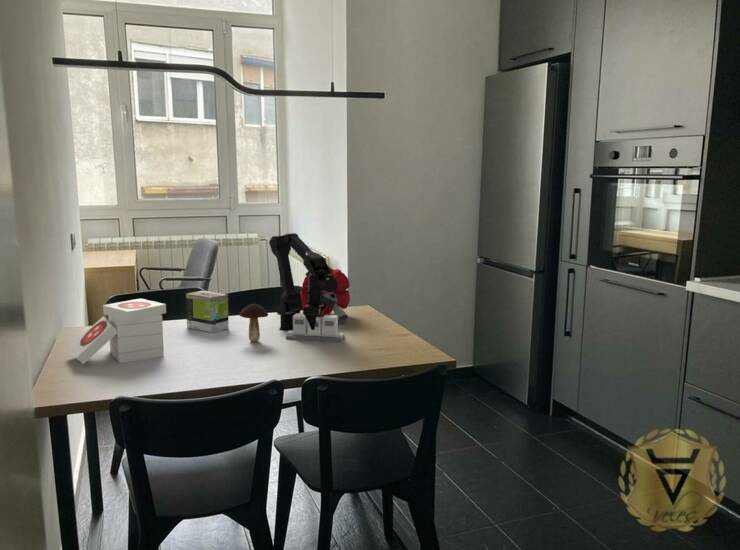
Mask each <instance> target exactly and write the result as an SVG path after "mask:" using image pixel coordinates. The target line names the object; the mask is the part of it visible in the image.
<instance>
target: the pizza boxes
mask: <svg viewBox="0 0 740 550" xmlns="http://www.w3.org/2000/svg"><path fill="white" fill-rule="evenodd" d="M102 309H103V310H102V311H103V316H102V317H100V318H99V319H98V320H97V321H96V322H95V323H94V324H93V325H91V326H90V327H89V328H88V329H87V330H86V331H85V332H84V333H83V334H81V336H79V337H78V338H77V339H76V340H75V341H74V342H73V343H71V344H70V345H69V349H70V350H71V352H72V353H73V355H74V357H75V359H77V360H78V361H79V362H81V364H83V365H85V363H87V361H88V360H90V359H91V358H92V357H93V356H94V355H95V354H96V353H97V352H98V351H100V349H102V348H103V347H104V346H105V345H106V344H107V343H108V342H109V352H110V353H111V354H112V355H113V357H114V358H115V360H116V361H117V362H118V364H120V363H121V364H122V363H128V362H136V361H141V360H148V359H153V358H154V359H155V358H161V357H164V355H165V353H164V352H165V351H164V349H165V348H164V334H163V333H164V332H163V331H164V330H163V329H164V328H163V314H167V304H166V303H163V302H162V303H161V302H158V301H154V300H148V299H146V298H136V299H130V300H125V301H119V302H113V303H112V302H111V303H108V304H102ZM104 315H106V316H108V317H107V318H108V319H107V318H106V317H105V316H104Z"/></svg>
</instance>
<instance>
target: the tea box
mask: <svg viewBox="0 0 740 550" xmlns="http://www.w3.org/2000/svg"><path fill="white" fill-rule="evenodd" d="M185 303H186V304H185V306H186V307H185V308H186V309H185V310H186V311H185V312H186V328H189V329H193V330H198V331H202V332H208V333H212V334H213V333H216V332H219V331H220V332H221V331H225V330H226V329H229V294H228V293H223V292H222V293H221V292H216V291H215V292H214V291H209V290H199V291H192V292H188V293H186V294H185Z"/></svg>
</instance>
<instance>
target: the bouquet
mask: <svg viewBox="0 0 740 550" xmlns="http://www.w3.org/2000/svg"><path fill="white" fill-rule="evenodd" d="M328 267H329V269H330V272H331V274H333V275H334V278H335V279H336V280H337V283H338V287H337V289H336V290H335V291H334V292H327V291H325V294H326V295H329V296H330V295H331V294H332V293H334V294H336V298H337V299H338V300H337V302H336V305H335V307H334V308H330V307H329V306H327V305H326V308H325V309H323V310H322V314H321V317H324V316H325V315H331V313H332V312H333V313H334V314H333V315H338V324H344V323H346V322H347V321H348V319H349V316H348V314H347V313H346V311H345V310H346V309H348V307H349V304H350V301H351V295H350V292H349V288H350V285H351V284H350V281H349V278H348V277H347V275H346V274H345V273H344V272H342V270H341V269H339V268H336V269H333V268H332V267H330V266H328ZM322 271H324V270H322ZM315 272H316V271H315ZM308 277H309V276H306V275H305V276H304V279H303V282H302V285H301V287H302V288H301V290H300V294H301V300H302V308H304V307H305V306H306V305H308V304H307V302H308V294H307V291H308ZM323 306H325V305H324V304H323Z"/></svg>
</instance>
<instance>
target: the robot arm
mask: <svg viewBox="0 0 740 550" xmlns="http://www.w3.org/2000/svg"><path fill="white" fill-rule="evenodd" d="M268 242H269V247H270V251H271V253H272V254H273V255H274V256H275V257H276V261H277V266H278V267H277V268H278V271H279V277H280V282H281V283H280V284H281V287H282V293H281V295H280V303H279V305H278V306H277V308H276V314H277V315H278V316H280V326H279V328H278V329H279V330H281V331H282V330H283V331H284V330H286V331H289V330H292V331H293V316H294V315H295V314H296V313H300V314H301V311H302V314H304V315H305V317H306V319H307V321H308V323H309V325H310V327H311V329H312V330H314V329H315V324H316V318H317V317H321V314H322V310H323V309H325V308H326V305H327V306H329V307H330V308H334V307H335V305H336V302H337V300H338V299H337V298H336V294H334V293H332V294H331V295H330V296H329V295H326V294H325V291H327V292H334V291H335V290H336V289H337V287H338V283H337V280H336V279H335V278H334V275H333V274H331V272H330V269H329V267H330V266H329V267H328V263H327V261H326V257H324V256H323V255H321V254H320V253H318V252H315V251H313V250H311V248H309V246H308V245H307V244H306V243H305V242H304V241H303V240H302V239H301V238H300V237H299V235H298V233H295V232H292V233H286V234H283V235H274V236H272V237H271V238H270V240H269V241H268ZM291 249H292V250H293V251H294V252H295V253H297V255H298V256H299V257H300V258H301V259H302V262H303V266H304V267H305V269H306V270H307V272H305V277H306V276H309V277H308V291H307V294H308V302H307V304H308V305H306V306H305V307H303V306H302V300H301V294H300V292H301V291H300V292H297V290H296V289H295V284H294V278H293V273H292V267H291V262H290V257H289V256H290V253H291ZM322 270H324V271H322ZM315 271H316V272H315ZM323 304H324V305H325V306H323Z"/></svg>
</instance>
